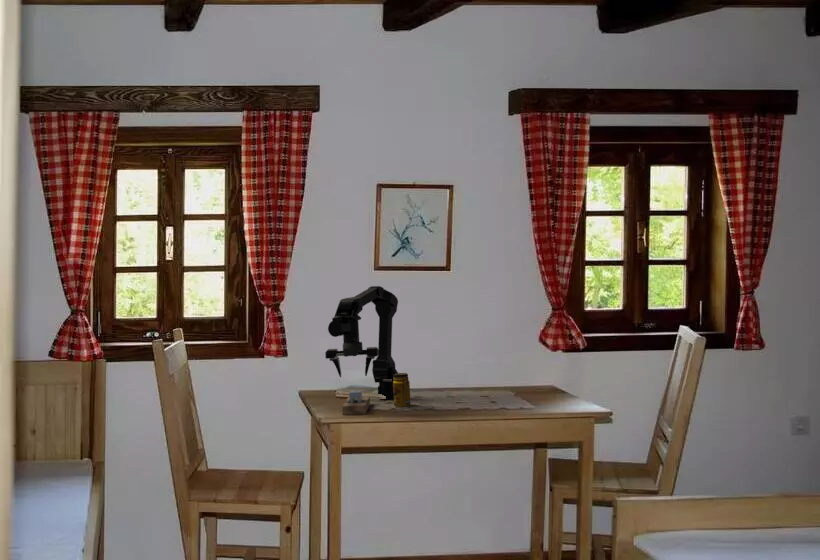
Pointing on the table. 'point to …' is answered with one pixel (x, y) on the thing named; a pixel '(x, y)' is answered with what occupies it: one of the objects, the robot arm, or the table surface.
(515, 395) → the table surface
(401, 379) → the condiment
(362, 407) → the brown slotted block
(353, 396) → the clip
